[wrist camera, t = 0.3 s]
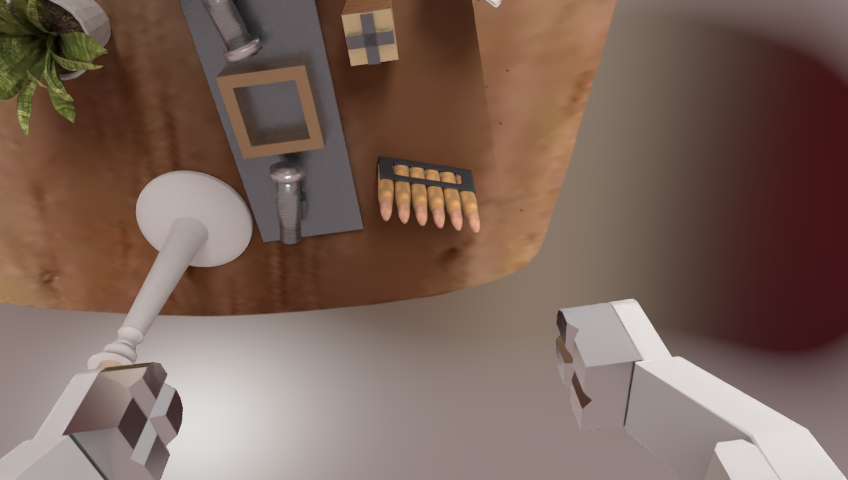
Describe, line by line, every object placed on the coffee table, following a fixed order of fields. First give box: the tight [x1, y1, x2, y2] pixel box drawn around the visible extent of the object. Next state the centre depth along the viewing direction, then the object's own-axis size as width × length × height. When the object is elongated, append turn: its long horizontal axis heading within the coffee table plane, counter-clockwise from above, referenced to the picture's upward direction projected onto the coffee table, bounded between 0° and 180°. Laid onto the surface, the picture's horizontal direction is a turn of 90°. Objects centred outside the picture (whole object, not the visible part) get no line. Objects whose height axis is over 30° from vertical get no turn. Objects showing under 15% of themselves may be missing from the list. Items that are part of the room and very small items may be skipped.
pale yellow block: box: [341, 0, 398, 66], centre depth 46 cm, size 4×4×10 cm
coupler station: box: [179, 0, 364, 242], centre depth 53 cm, size 32×12×4 cm, turn 7°
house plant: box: [0, 0, 111, 139], centre depth 42 cm, size 14×14×16 cm
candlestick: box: [88, 170, 253, 370], centre depth 49 cm, size 13×13×30 cm
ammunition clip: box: [376, 156, 480, 233], centre depth 55 cm, size 11×2×12 cm, turn 79°
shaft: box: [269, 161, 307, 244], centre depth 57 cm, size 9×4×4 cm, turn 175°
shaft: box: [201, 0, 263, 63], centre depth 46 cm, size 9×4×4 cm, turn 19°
